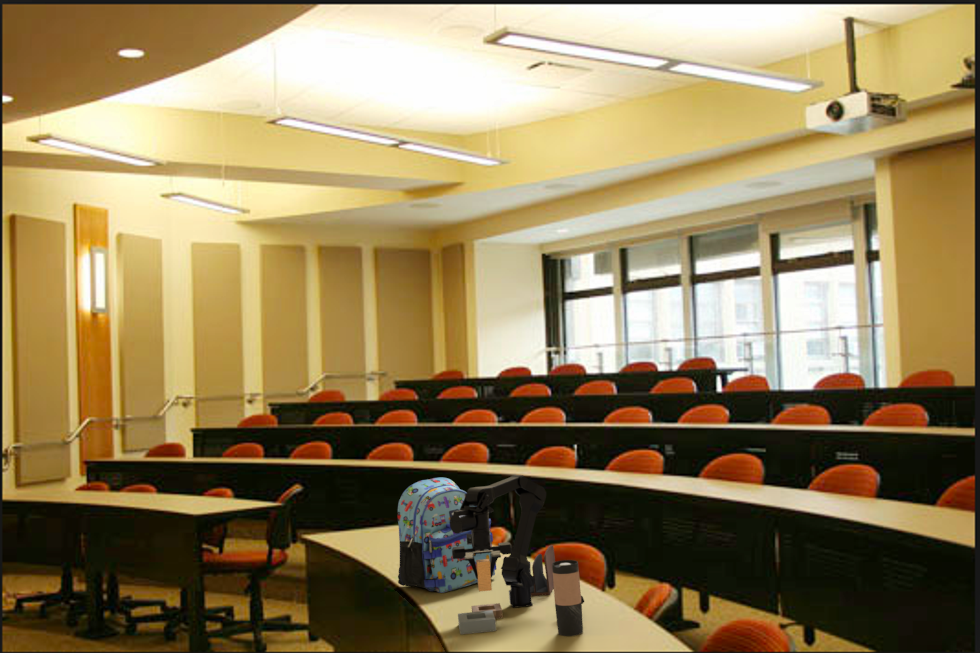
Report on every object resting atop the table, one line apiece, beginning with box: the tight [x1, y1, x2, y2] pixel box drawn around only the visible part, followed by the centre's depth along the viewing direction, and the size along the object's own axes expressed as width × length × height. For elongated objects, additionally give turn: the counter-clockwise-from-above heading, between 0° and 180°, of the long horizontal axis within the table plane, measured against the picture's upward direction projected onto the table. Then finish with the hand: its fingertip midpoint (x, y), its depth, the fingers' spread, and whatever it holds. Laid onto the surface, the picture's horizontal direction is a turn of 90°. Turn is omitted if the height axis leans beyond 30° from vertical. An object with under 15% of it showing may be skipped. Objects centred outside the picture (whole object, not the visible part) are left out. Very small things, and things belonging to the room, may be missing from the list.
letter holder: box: [528, 544, 556, 597], centre depth 348 cm, size 10×20×14 cm, turn 169°
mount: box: [470, 602, 504, 620], centre depth 316 cm, size 9×9×2 cm
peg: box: [476, 559, 493, 592], centre depth 317 cm, size 4×4×9 cm
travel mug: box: [552, 559, 584, 637], centre depth 290 cm, size 8×8×20 cm
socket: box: [457, 610, 497, 635], centre depth 303 cm, size 11×11×4 cm
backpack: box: [397, 477, 497, 594], centre depth 369 cm, size 34×25×38 cm
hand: (484, 578), depth 317 cm, fingers closed on peg, 4 cm apart
